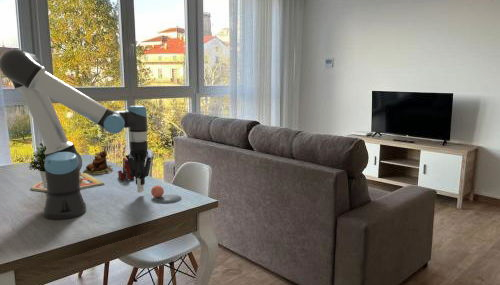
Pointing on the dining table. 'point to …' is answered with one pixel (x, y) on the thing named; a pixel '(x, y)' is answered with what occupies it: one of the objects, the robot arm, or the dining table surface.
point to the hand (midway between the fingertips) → (140, 191)
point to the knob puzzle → (84, 179)
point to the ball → (157, 191)
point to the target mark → (167, 199)
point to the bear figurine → (98, 165)
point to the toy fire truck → (125, 171)
